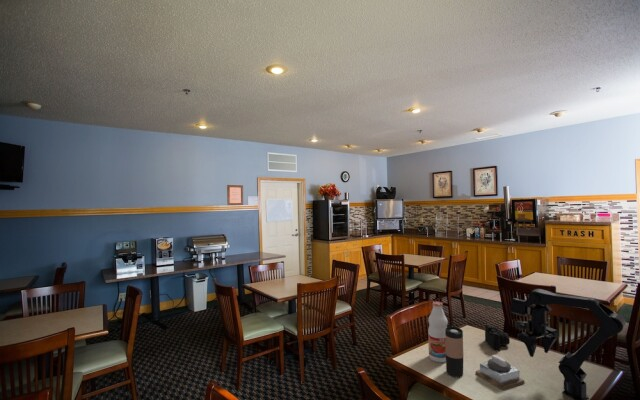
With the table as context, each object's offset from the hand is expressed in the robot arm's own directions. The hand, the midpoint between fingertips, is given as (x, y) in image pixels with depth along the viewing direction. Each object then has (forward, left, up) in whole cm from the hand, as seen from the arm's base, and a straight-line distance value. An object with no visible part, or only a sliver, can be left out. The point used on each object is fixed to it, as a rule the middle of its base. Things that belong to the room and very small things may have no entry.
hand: (538, 354), depth 142 cm
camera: (+32, -14, -12) cm, 37 cm away
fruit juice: (+34, +25, -12) cm, 44 cm away
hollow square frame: (+9, +13, -11) cm, 19 cm away
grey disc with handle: (+9, +13, -10) cm, 19 cm away
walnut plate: (+9, +13, -12) cm, 20 cm away
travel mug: (+20, +28, -12) cm, 36 cm away
